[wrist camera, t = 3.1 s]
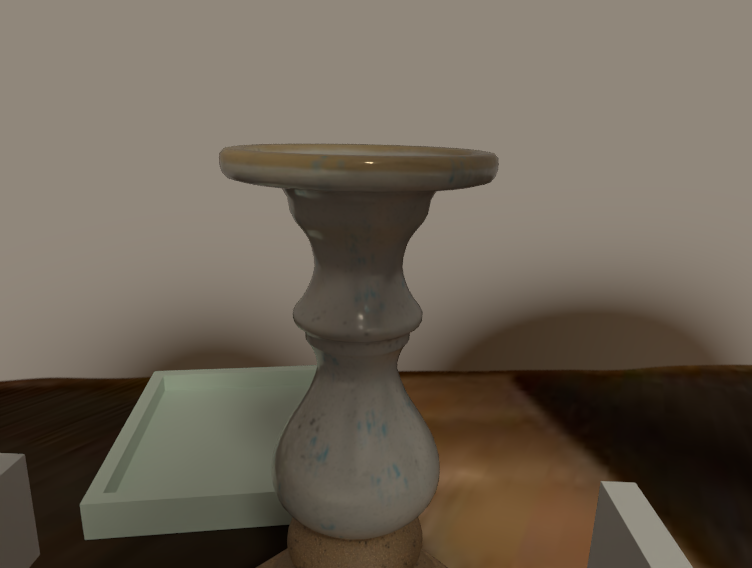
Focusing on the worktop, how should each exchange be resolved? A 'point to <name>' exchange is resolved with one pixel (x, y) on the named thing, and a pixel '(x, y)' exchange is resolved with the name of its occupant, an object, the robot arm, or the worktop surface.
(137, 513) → the tray
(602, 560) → the robot arm
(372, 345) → the candle holder
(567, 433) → the worktop surface
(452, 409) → the worktop surface
